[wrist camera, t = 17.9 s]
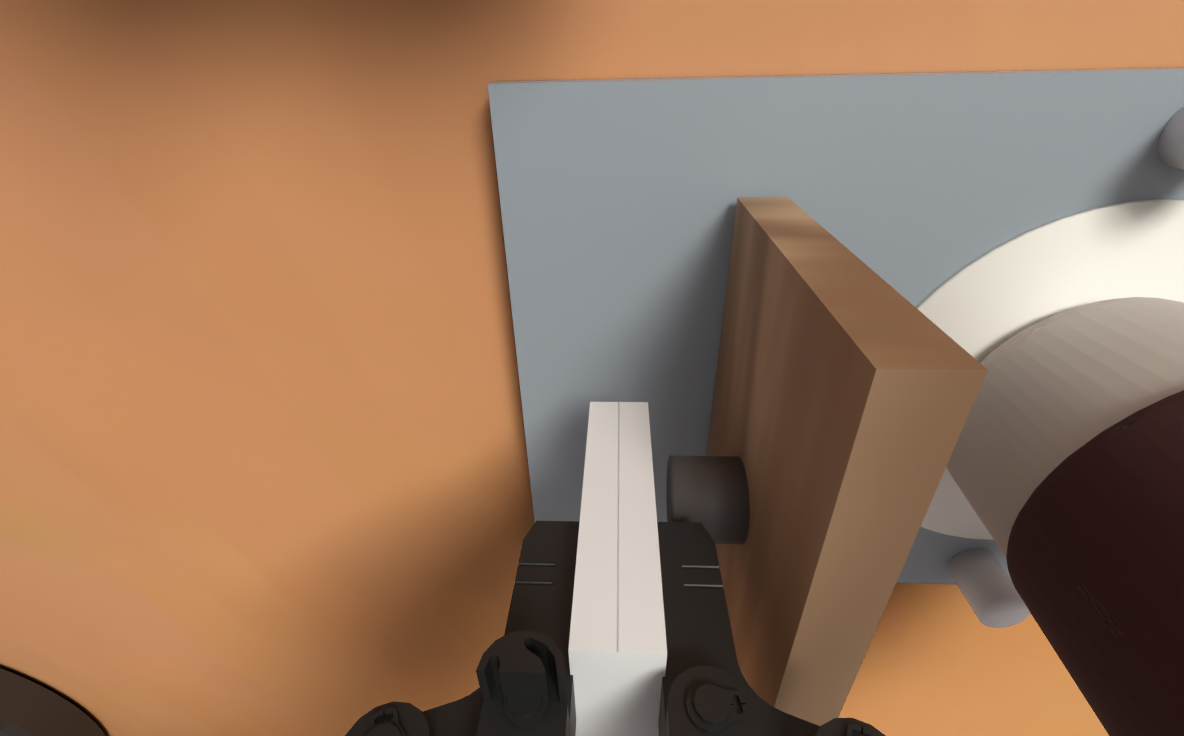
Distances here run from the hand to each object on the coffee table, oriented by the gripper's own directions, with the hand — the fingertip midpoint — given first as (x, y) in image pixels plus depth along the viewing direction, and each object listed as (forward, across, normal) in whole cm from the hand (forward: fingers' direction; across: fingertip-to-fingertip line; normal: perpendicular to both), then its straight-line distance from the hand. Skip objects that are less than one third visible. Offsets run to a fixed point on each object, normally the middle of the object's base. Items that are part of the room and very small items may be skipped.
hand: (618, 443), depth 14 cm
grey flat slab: (+4, +9, 0) cm, 10 cm away
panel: (+2, +3, 0) cm, 3 cm away
